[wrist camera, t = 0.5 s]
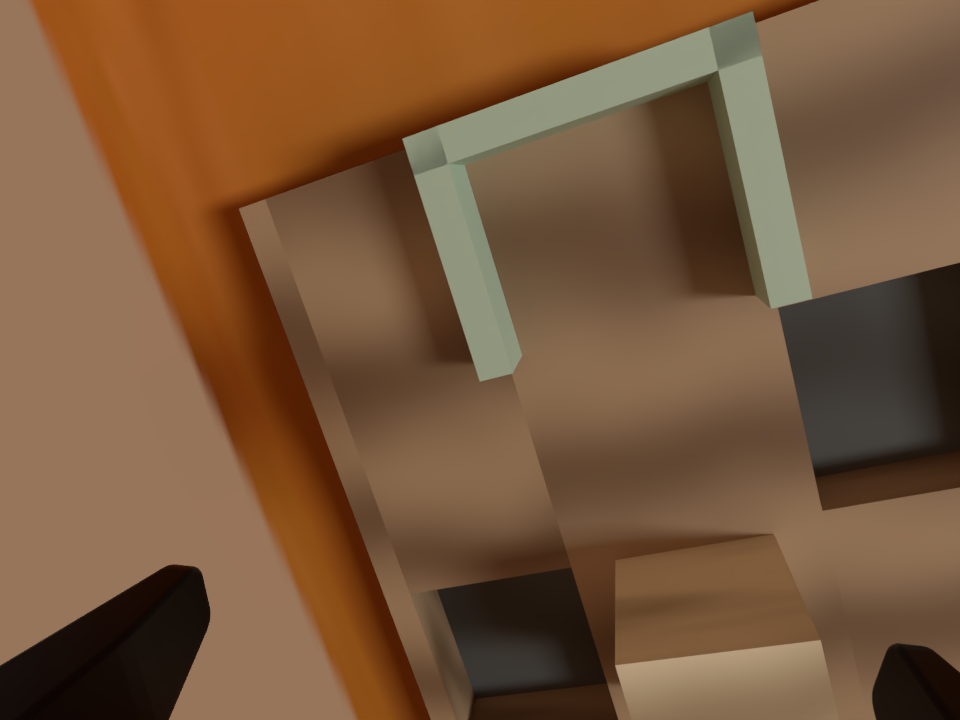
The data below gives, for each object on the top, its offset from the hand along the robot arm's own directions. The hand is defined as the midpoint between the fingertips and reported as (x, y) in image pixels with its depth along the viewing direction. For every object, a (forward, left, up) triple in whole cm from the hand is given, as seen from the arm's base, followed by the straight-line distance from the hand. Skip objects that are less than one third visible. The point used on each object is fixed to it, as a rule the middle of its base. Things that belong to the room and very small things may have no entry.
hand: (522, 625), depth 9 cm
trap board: (-2, -4, -15) cm, 16 cm away
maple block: (-6, -7, -12) cm, 16 cm away
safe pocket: (+5, +1, -12) cm, 13 cm away
